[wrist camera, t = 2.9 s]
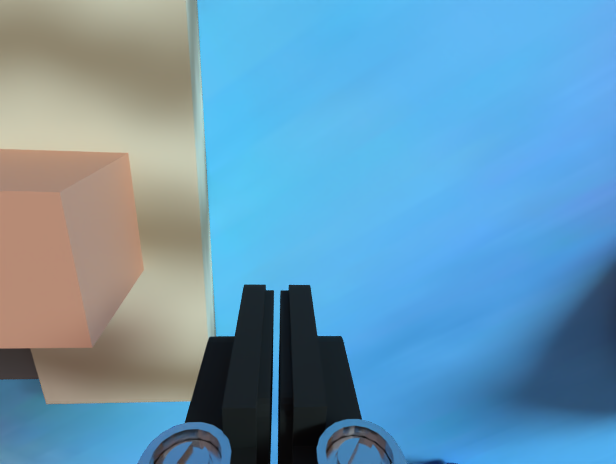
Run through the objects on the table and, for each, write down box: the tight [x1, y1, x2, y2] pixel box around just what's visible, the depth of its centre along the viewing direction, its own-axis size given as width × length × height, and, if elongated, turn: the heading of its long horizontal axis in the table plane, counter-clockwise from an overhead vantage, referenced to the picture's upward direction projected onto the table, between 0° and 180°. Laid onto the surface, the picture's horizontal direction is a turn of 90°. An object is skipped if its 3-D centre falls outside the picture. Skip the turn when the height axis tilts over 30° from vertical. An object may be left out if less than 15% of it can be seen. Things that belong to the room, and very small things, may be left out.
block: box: [0, 149, 144, 348], centre depth 13 cm, size 5×5×5 cm
